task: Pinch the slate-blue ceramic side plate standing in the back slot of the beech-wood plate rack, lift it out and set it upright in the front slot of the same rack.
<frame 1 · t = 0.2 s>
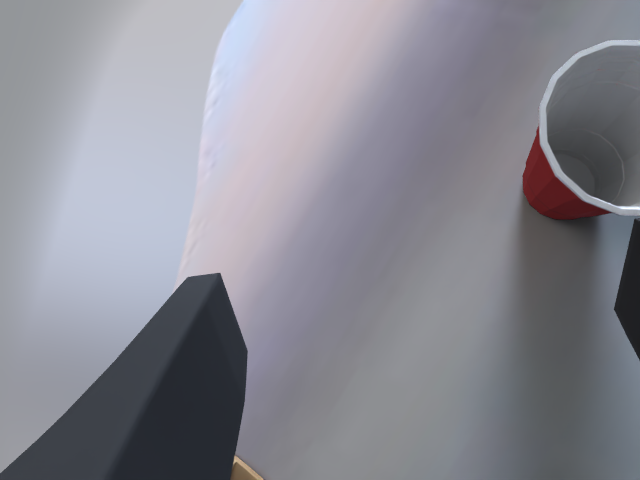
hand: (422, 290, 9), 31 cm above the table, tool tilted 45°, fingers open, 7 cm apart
plastic cup: (560, 188, 40), on the table
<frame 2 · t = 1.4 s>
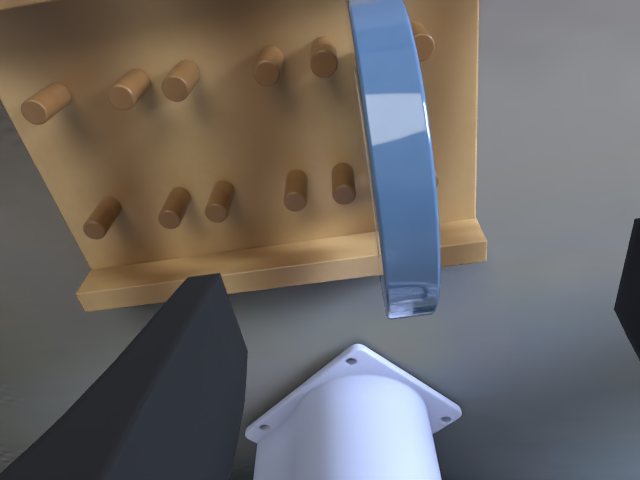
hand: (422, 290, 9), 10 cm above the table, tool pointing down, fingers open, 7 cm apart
plate: (374, 108, 17), point 1 cm above the table, touching rack
rack: (248, 120, 18), on the table
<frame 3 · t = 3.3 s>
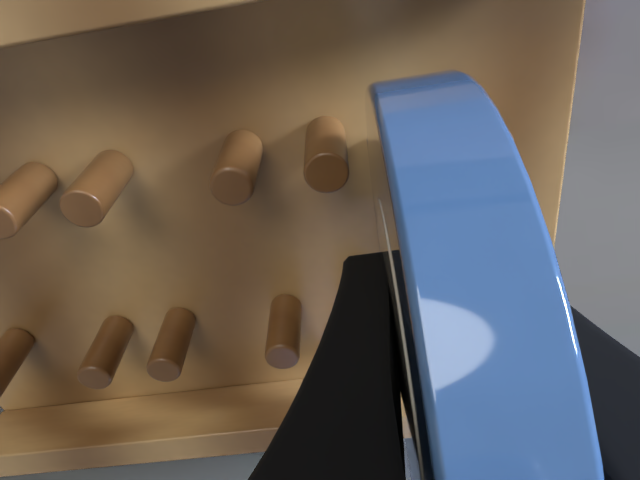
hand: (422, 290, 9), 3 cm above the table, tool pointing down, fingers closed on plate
plate: (402, 215, 11), point 1 cm above the table, touching gripper, rack
rack: (214, 223, 12), on the table
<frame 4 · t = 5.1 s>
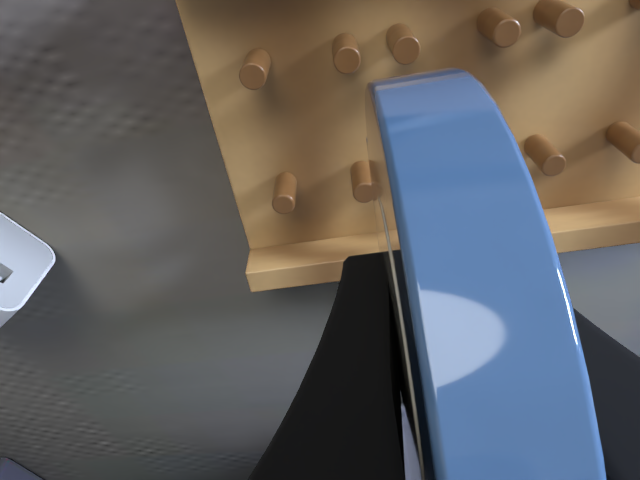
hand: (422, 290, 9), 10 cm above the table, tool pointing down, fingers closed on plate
plate: (401, 214, 11), point 8 cm above the table, touching gripper
rack: (440, 90, 17), on the table
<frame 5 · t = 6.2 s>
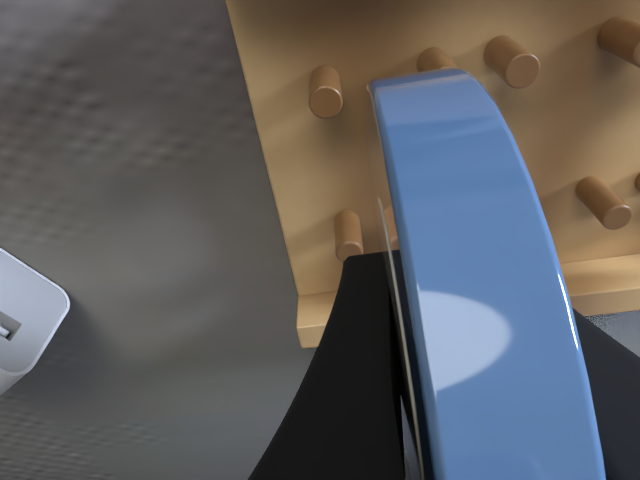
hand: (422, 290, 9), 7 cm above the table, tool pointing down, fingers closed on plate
plate: (401, 214, 11), point 4 cm above the table, touching gripper
rack: (536, 114, 14), on the table
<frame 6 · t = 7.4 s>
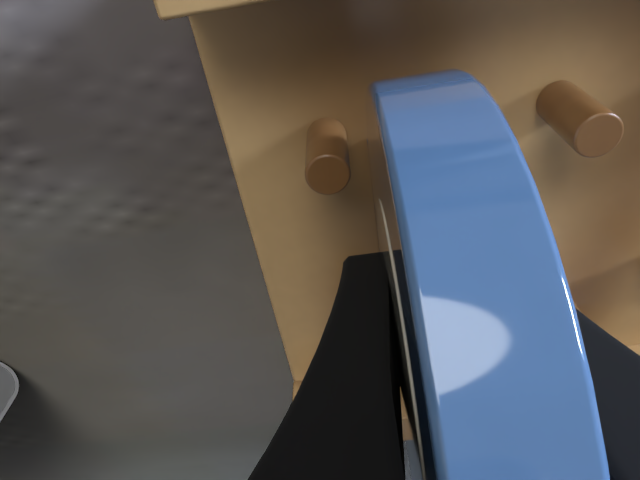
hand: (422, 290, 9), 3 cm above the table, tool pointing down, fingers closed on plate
plate: (402, 216, 11), point 1 cm above the table, touching gripper, rack
rack: (595, 172, 11), on the table
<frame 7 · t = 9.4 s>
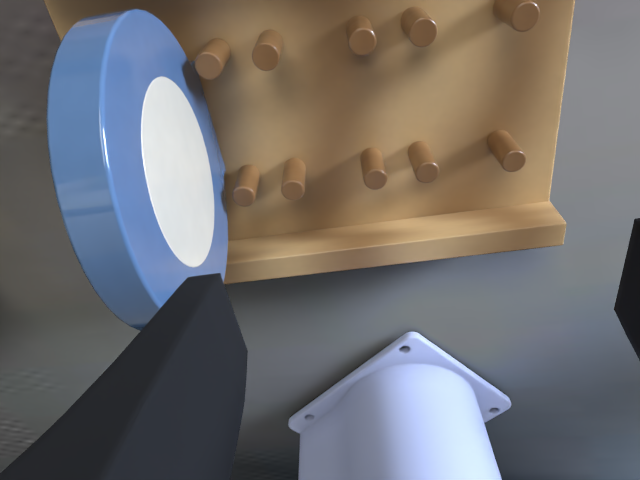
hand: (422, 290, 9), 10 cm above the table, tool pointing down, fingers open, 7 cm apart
plate: (194, 121, 17), point 1 cm above the table, touching rack
rack: (324, 95, 17), on the table
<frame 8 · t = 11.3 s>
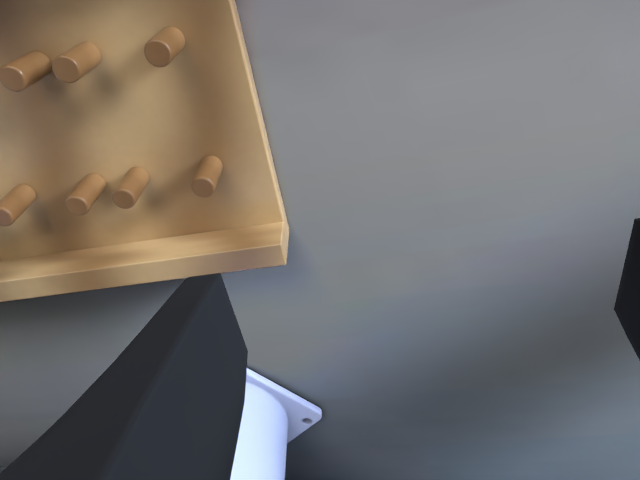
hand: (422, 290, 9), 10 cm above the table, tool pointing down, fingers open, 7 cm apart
rack: (42, 124, 18), on the table
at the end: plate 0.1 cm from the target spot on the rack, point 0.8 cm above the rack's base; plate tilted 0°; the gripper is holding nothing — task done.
